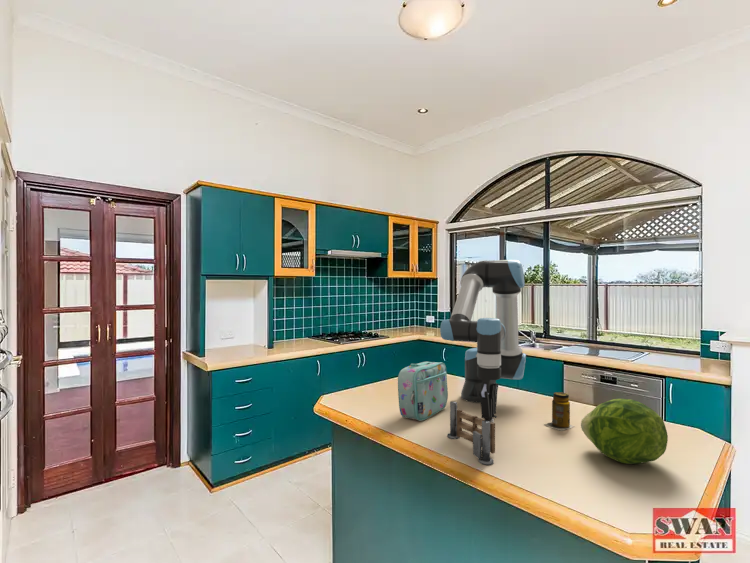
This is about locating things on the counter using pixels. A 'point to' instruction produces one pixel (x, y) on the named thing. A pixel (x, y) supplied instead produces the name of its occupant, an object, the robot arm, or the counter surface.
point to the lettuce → (626, 431)
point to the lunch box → (422, 390)
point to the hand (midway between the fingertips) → (489, 438)
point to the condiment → (560, 412)
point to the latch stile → (482, 444)
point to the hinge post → (453, 421)
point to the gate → (473, 428)
